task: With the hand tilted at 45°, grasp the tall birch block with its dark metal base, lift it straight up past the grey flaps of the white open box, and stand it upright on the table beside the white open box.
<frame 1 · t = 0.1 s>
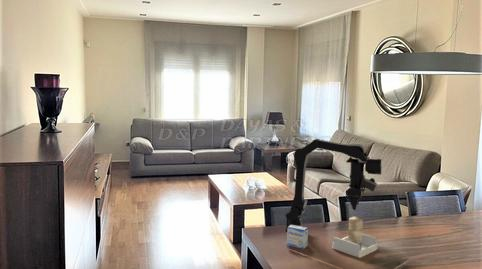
hand: (355, 207, 185), 15 cm above the table, tool pointing down, fingers open, 9 cm apart
birch block: (354, 248, 173), point 1 cm above the table, touching white open box
white open box: (354, 250, 173), on the table
medicine box: (297, 247, 176), on the table
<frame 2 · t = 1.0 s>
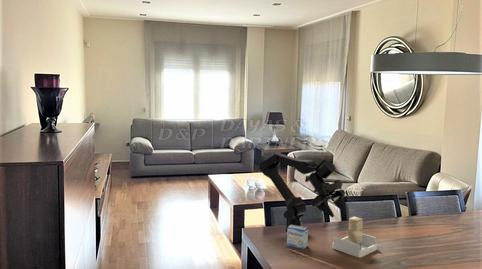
hand: (339, 214, 177), 13 cm above the table, tool tilted 45°, fingers open, 9 cm apart
nothing on the table moved.
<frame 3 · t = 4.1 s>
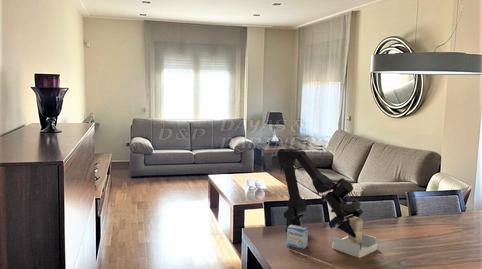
hand: (358, 235, 171), 7 cm above the table, tool tilted 45°, fingers closed on birch block, 4 cm apart
birch block: (354, 248, 173), point 1 cm above the table, touching white open box, gripper
everything else where it was.
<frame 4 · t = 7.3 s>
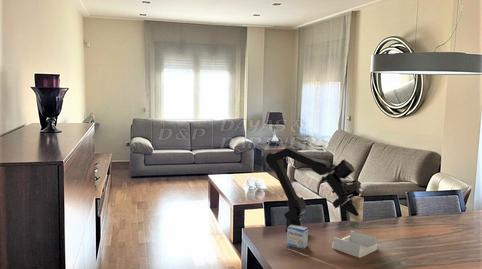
hand: (359, 214, 178), 13 cm above the table, tool tilted 45°, fingers closed on birch block, 4 cm apart
birch block: (355, 227, 179), point 7 cm above the table, touching gripper
everything else where it was.
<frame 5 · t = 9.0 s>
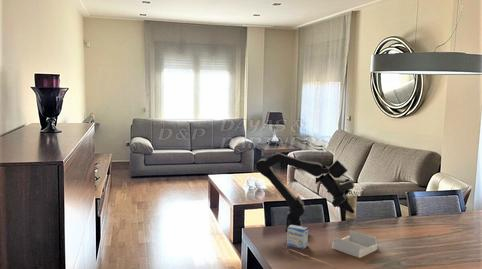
hand: (354, 211, 188), 12 cm above the table, tool tilted 45°, fingers closed on birch block, 4 cm apart
birch block: (350, 223, 189), point 6 cm above the table, touching gripper
everything else where it was.
when the fingers open (7 cm above the table, at t = 10.2 s): birch block drops 1 cm, on the table.
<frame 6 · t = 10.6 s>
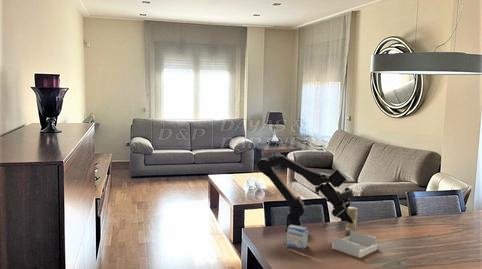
hand: (354, 220, 189), 8 cm above the table, tool tilted 45°, fingers open, 8 cm apart
birch block: (350, 235, 190), on the table
everything else where it was.
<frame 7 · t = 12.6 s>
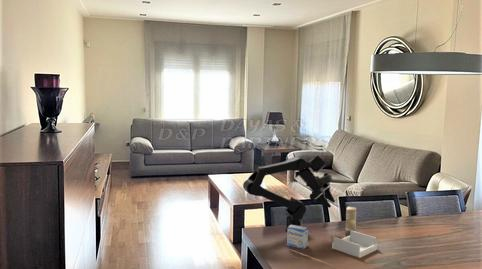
hand: (332, 204, 192), 14 cm above the table, tool tilted 45°, fingers open, 9 cm apart
nothing on the table moved.
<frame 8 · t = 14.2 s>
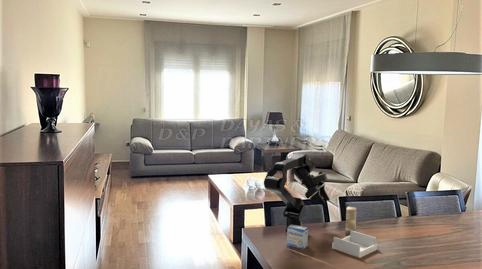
hand: (327, 202, 196), 14 cm above the table, tool tilted 45°, fingers open, 9 cm apart
nothing on the table moved.
at the end: birch block inside the target area (0.0 cm from its centre), on the table; birch block tilted 0°; the gripper is holding nothing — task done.
